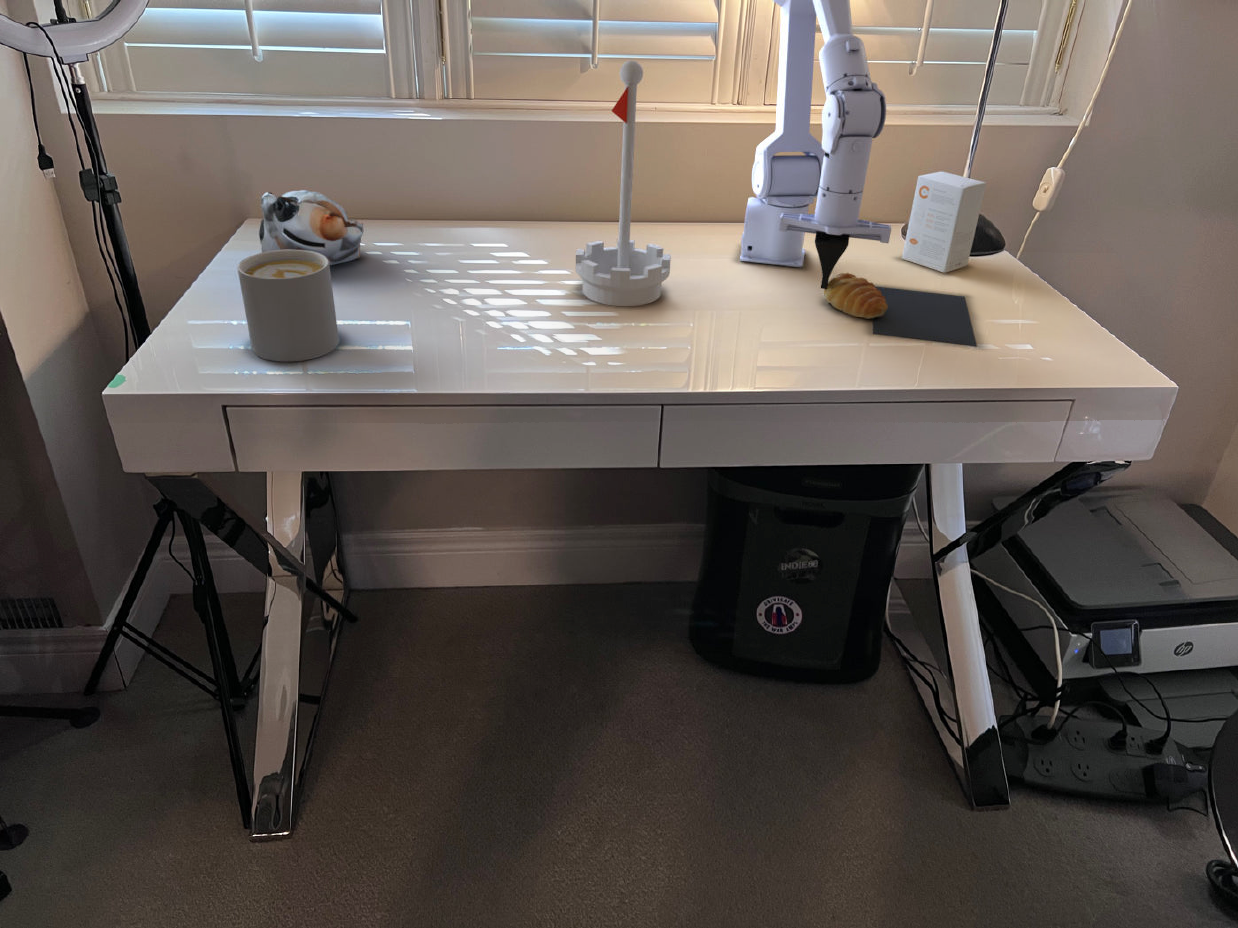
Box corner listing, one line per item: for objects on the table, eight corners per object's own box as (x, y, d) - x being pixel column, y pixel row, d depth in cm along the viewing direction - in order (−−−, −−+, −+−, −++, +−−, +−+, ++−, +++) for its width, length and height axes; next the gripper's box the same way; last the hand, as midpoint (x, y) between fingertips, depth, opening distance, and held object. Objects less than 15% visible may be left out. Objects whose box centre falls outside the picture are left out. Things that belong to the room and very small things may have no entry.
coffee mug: (336, 359, 109) (326, 277, 103) (246, 364, 107) (230, 280, 102) (342, 315, 120) (333, 239, 115) (261, 318, 118) (247, 241, 113)
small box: (967, 266, 146) (988, 182, 139) (944, 274, 142) (964, 188, 136) (923, 251, 151) (941, 170, 144) (900, 259, 148) (917, 175, 141)
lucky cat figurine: (374, 249, 141) (381, 179, 130) (347, 305, 134) (351, 237, 123) (276, 216, 139) (274, 142, 128) (243, 271, 132) (238, 198, 121)
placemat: (872, 334, 122) (873, 333, 122) (872, 287, 137) (872, 285, 137) (976, 347, 120) (976, 346, 119) (964, 297, 135) (964, 296, 134)
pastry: (898, 317, 126) (903, 291, 124) (858, 325, 124) (863, 298, 122) (854, 294, 134) (859, 268, 132) (816, 300, 131) (820, 274, 129)
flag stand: (601, 269, 138) (608, 49, 123) (682, 286, 134) (700, 60, 118) (558, 296, 128) (559, 61, 112) (644, 316, 124) (658, 73, 108)
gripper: (782, 189, 120) (769, 290, 127) (898, 202, 117) (878, 303, 125) (787, 176, 126) (774, 273, 133) (897, 187, 123) (878, 285, 130)
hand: (824, 286), depth 129 cm, fingers closed, pressing on pastry
